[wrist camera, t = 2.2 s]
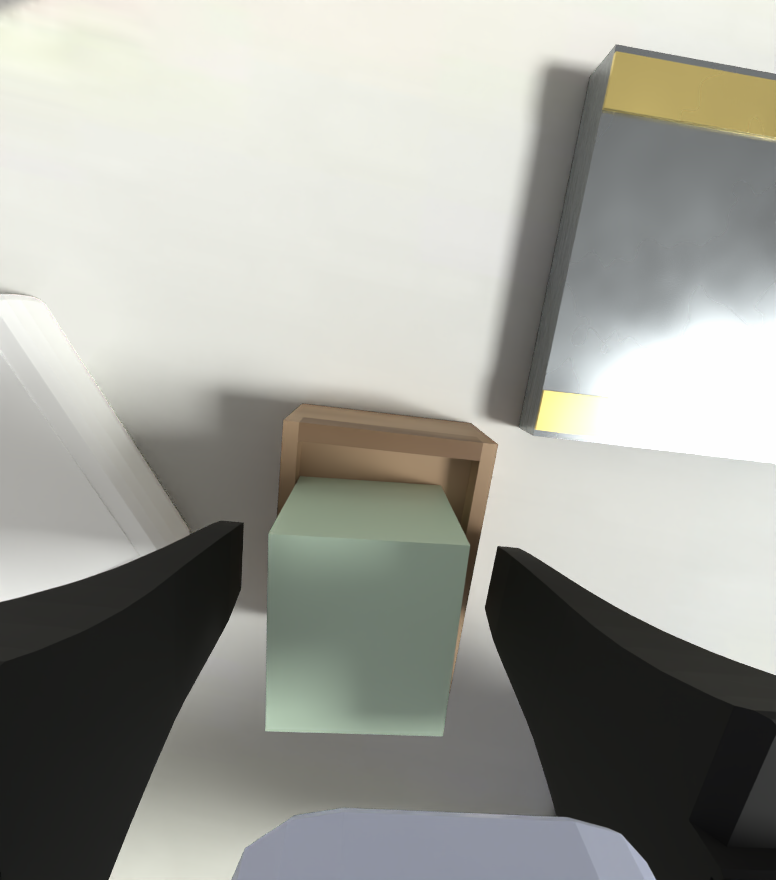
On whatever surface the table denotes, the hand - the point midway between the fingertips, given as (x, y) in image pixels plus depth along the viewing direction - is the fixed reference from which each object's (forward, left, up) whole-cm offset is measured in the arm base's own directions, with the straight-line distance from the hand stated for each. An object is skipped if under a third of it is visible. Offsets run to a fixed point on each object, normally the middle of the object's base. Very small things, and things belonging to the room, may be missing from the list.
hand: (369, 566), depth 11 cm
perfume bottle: (-1, +11, -4) cm, 11 cm away
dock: (+9, -10, -3) cm, 13 cm away
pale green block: (0, 0, -1) cm, 1 cm away
